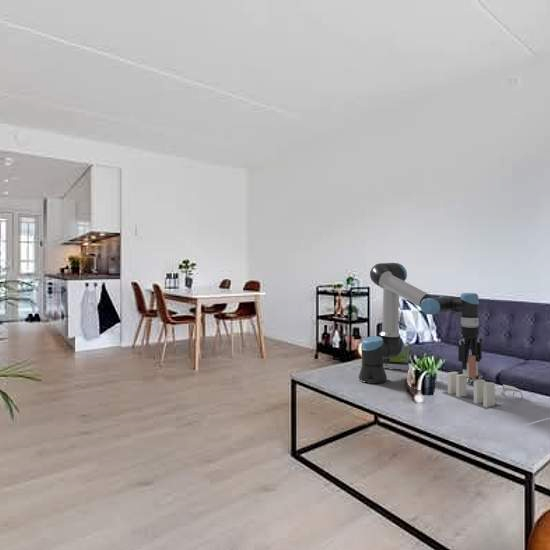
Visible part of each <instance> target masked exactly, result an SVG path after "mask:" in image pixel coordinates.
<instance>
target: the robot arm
mask: <svg viewBox="0 0 550 550" xmlns="http://www.w3.org/2000/svg"><path fill="white" fill-rule="evenodd" d="M407 273H408V272H407V269H406V268H405V267H404V265H402V264H401V263H399V262H397V263H396V262H384V263H383V262H380V263H376V264H374V265H373V266H372V268H371V269H370V271H369V277H370V280H371V282H372V283H373V284H374V285H376V286H378V287H380V288H382V290H383V292H382V293H383V295H382V323H381V325H382V327H381V329H382V330H381V331H380V332H379V336H377V335H376V336H375V335H374V336H367V337H365V338H363V339H362V340H361V366H360V367H361V368H360V371H359V374H358V380H359V379H360V380H362V381H365V382H369V383H368V384H370V383H381V384H384V383H383V382H385V383H386V382H387V381H388V378H387V374H386V373H387V372H386V371H385V370H386V369H384V367H383V359H388V358H394V357H397V356H399V355H401V354H402V352H403V351H404V344H405V342H404V341H403V338H402V337H401V333H400V332H399V306H400V303H399V302H400V297H401V298H403V299H404V300H407V301H408V302H411V304H414V305H416V306H417V307H420V310H421V312H422V313H423V314H425V315H430V316H431V315H432V316H433V315H437V314H445V313H458V314H459V313H460V325H461V327H460V333H461V335H462V338H461V339H460V340H457V346H458V362H461V365H462V366H461V368H462V370H463V376H466V377H469V363H467V362H468V356H469V355H470V352H471V355H475V356H476V376H477V375H478V370H479V362H481V360H482V359H483V358H482V357H483V353H482V351H483V348H482V343H483V338H482V337H481V338H480V337H479V335H480V327H479V325H480V324H479V321H480V320H479V308H480V307H479V304H480V301H479V295H478V294H477V293H475V292H462V293H460V296H450V295H440V296H439V297H435V296H433V295H431V294H429V293H428V292H426V291H424V290H422V289H420V288H418V287H417V286H414V285H412V284H410V283H408V282H406V280H407V277H408V274H407ZM360 380H359V381H360Z"/></svg>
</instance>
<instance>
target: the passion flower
mask: <svg viewBox="0 0 550 550" xmlns="http://www.w3.org/2000/svg"><path fill="white" fill-rule="evenodd" d="M460 374H463V369H462V370H461V372H460ZM467 379H468V380H467V382H468V384H469V383H470V384H471V386H473V387H474V381H475V380H480V379H482V380H483V375H482V374H481V373H480V370H479V369H478V375H477V376H476V377H473V378H467Z"/></svg>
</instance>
